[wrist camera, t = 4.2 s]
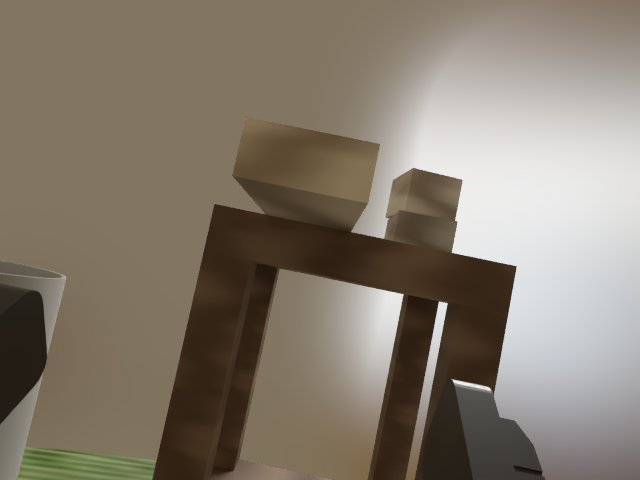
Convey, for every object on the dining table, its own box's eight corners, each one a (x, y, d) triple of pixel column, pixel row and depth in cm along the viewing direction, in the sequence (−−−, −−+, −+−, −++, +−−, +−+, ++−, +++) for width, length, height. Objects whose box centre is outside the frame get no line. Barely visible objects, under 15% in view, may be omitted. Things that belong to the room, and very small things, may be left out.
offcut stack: (430, 267, 40) (444, 193, 41) (449, 264, 34) (465, 178, 35) (376, 256, 40) (391, 182, 41) (386, 251, 34) (403, 166, 35)
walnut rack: (365, 653, 42) (437, 271, 44) (397, 934, 24) (516, 266, 26) (175, 611, 42) (257, 234, 45) (67, 857, 24) (214, 204, 27)
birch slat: (340, 248, 40) (345, 223, 41) (367, 203, 16) (379, 143, 17) (285, 237, 40) (290, 212, 41) (232, 175, 17) (245, 116, 17)
